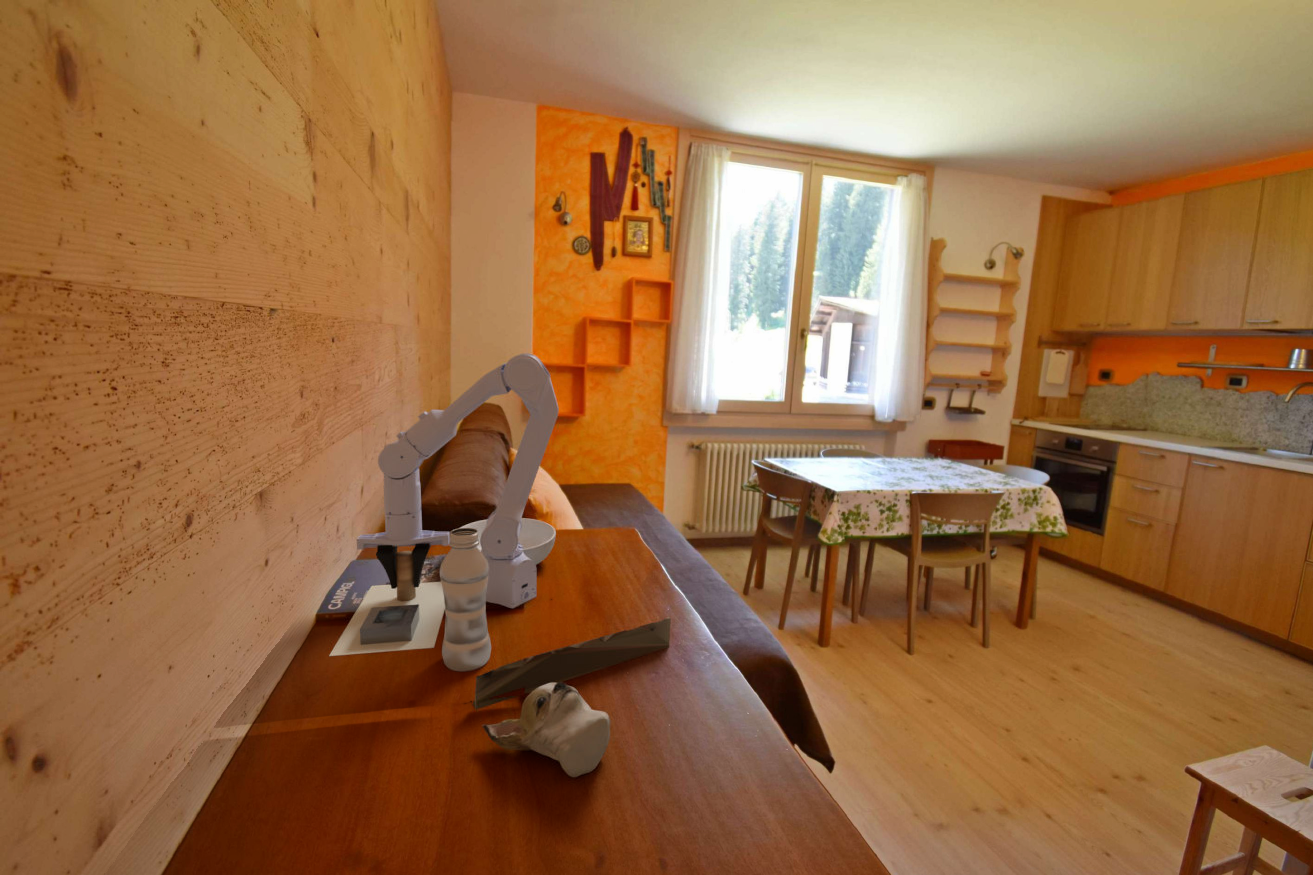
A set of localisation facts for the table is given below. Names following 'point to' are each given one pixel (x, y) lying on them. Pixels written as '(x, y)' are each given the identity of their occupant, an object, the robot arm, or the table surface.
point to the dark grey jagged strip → (570, 662)
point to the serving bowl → (527, 537)
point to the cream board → (384, 596)
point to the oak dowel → (405, 576)
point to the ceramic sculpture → (557, 728)
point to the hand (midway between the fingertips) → (406, 585)
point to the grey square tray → (389, 624)
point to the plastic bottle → (465, 602)
